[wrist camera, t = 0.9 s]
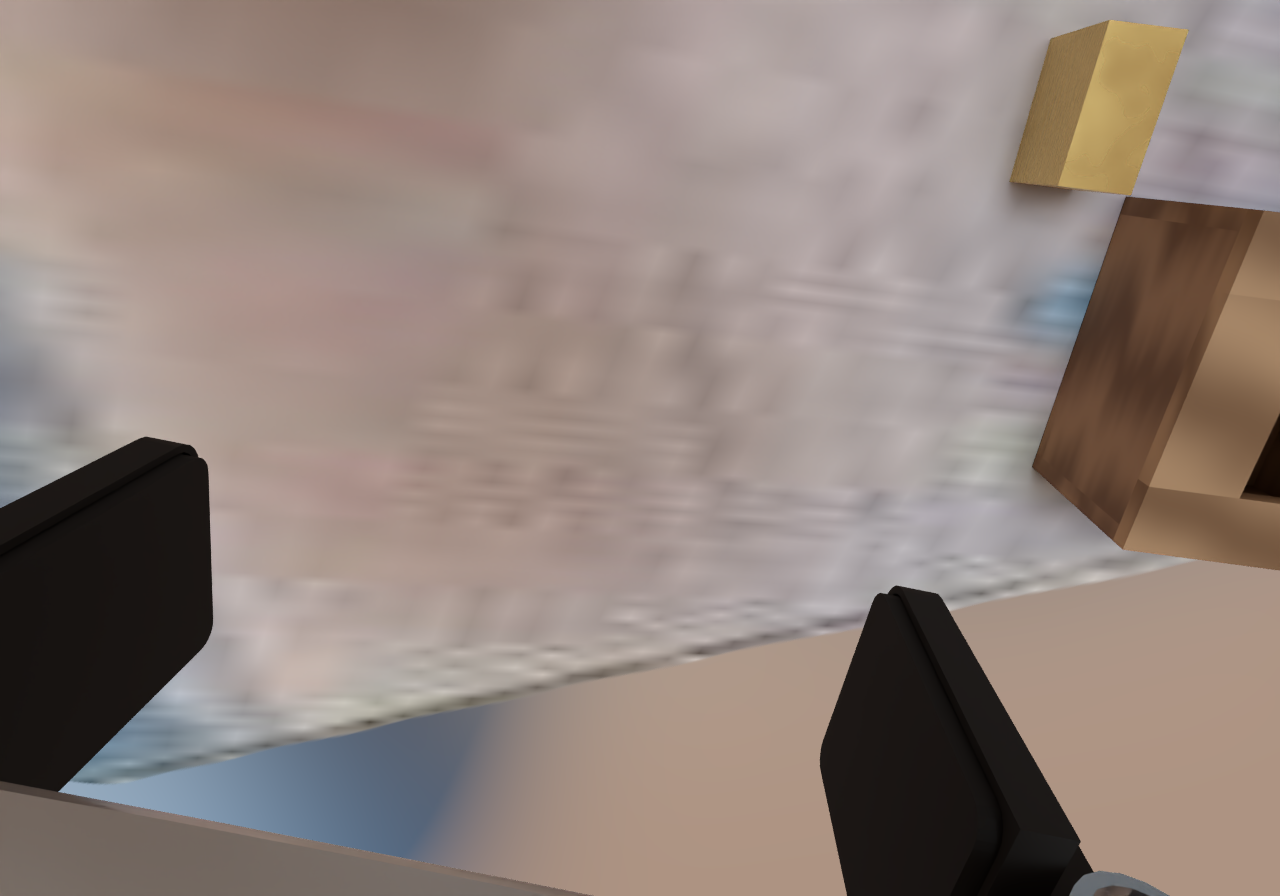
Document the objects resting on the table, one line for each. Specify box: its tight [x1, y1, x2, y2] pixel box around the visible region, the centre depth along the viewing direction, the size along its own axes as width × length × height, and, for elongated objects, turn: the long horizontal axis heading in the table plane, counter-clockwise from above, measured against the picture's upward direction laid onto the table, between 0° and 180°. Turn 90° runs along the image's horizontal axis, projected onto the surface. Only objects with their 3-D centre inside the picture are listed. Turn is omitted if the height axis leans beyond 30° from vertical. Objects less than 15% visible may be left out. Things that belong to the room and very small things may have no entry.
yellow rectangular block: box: [1010, 20, 1188, 195], centre depth 32 cm, size 6×3×5 cm, turn 173°
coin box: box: [1032, 197, 1280, 570], centre depth 33 cm, size 14×12×9 cm
